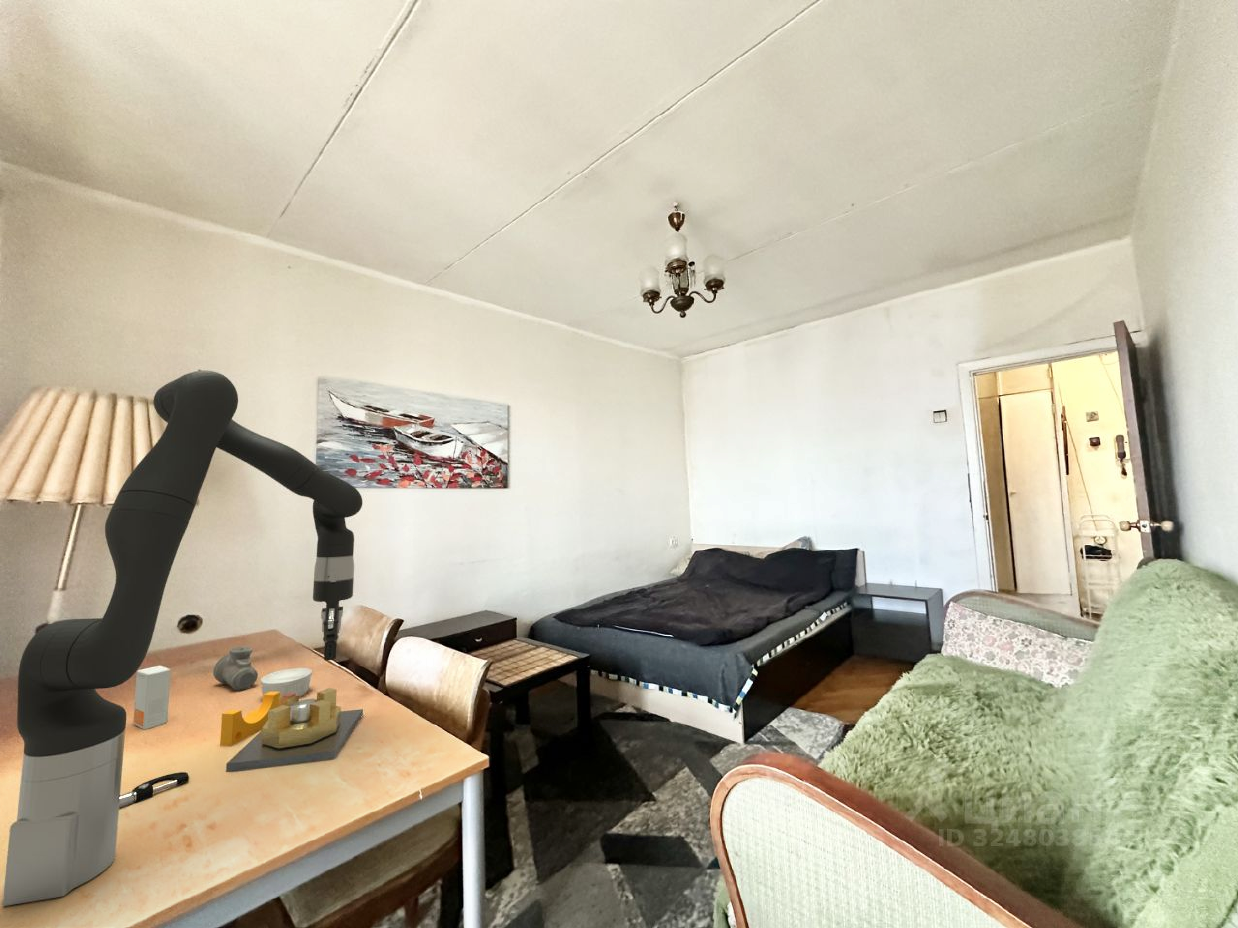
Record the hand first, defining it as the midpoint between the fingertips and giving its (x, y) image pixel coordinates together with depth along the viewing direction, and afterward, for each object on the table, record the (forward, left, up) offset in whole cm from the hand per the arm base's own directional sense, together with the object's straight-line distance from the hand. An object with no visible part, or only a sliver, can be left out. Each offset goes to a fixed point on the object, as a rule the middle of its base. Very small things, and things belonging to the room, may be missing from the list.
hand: (330, 659), depth 103 cm
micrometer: (-15, +25, -17) cm, 34 cm away
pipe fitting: (+40, +34, -17) cm, 55 cm away
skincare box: (+18, +41, -16) cm, 48 cm away
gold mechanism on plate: (0, +4, -16) cm, 17 cm away
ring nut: (0, +4, -14) cm, 15 cm away
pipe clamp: (+8, +18, -17) cm, 25 cm away
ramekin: (+29, +18, -17) cm, 38 cm away
